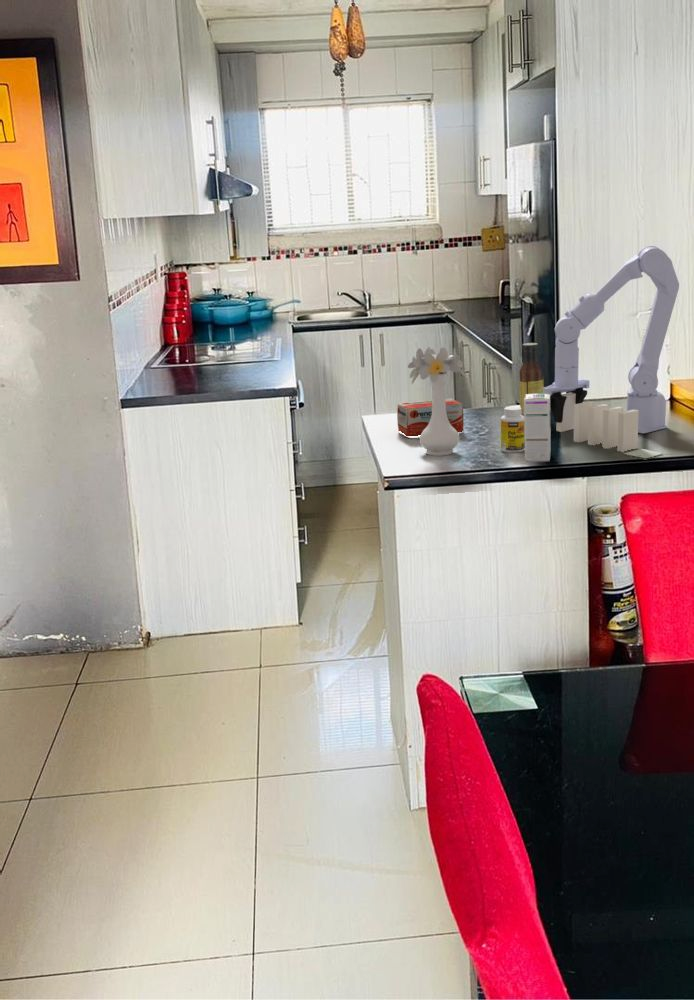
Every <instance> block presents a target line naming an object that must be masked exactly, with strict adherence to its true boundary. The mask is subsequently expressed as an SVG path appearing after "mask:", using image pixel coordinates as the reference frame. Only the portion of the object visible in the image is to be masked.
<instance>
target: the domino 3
mask: <svg viewBox="0 0 694 1000" xmlns="http://www.w3.org/2000/svg"><path fill="white" fill-rule="evenodd" d="M606 409H609V405H608V404H606V403H601V404H598V405H594V406H592V407H589V411H588V440H587V445H589V446H592V445H593V446H597V445H601V444H602V441H603V410H606ZM600 443H601V444H600ZM596 444H597V445H596Z"/></svg>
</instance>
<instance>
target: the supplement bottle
mask: <svg viewBox="0 0 694 1000" xmlns="http://www.w3.org/2000/svg"><path fill="white" fill-rule="evenodd" d="M503 411H504V413H503V414H504V415H502V416H501V417H500V450H501V452H503V453H507V454H510V453H511V454H519V453H522V452H523V451H525V448H524V447H525V446H524V416H522V415H521V414H522V409H521V407H520V406H511V405H510V406H506V407H504V410H503Z"/></svg>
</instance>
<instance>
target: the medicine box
mask: <svg viewBox="0 0 694 1000" xmlns="http://www.w3.org/2000/svg"><path fill="white" fill-rule="evenodd" d="M445 405H446V414H447V418H448V420H449V422H450V424H451V426H452V427H453V428H454V429H455V430H456V431H457V432H462V431H463V432H464V425H465V424H464V420H465V419H464V407H463V403H462V402H460V401H458V400H455V399H454V398H451V397H450V398H445ZM396 409H397V413H396V415H397V419H396V420H397V429H398V432H399V431H401V432H402V433H404V434H405V435H406V436H418V435H421V433H422V431H423V430H424V429H425V428H426V427H427V426H428V424H429V422H430V419H431V415H432V399H429V400H419V401H411V402H410V401H409V402H399V403H397V408H396Z"/></svg>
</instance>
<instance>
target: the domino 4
mask: <svg viewBox="0 0 694 1000" xmlns="http://www.w3.org/2000/svg"><path fill="white" fill-rule="evenodd" d="M620 412H624V407H622V406H615V407H610V408H608V409H606V410H603V441H602V443H601V444H602V445H601V446H602V447H603V448H602V447H601V448H602V449H606V448H609V449H613V448H616V446H617V445H618V413H620ZM612 447H613V448H612Z"/></svg>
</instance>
